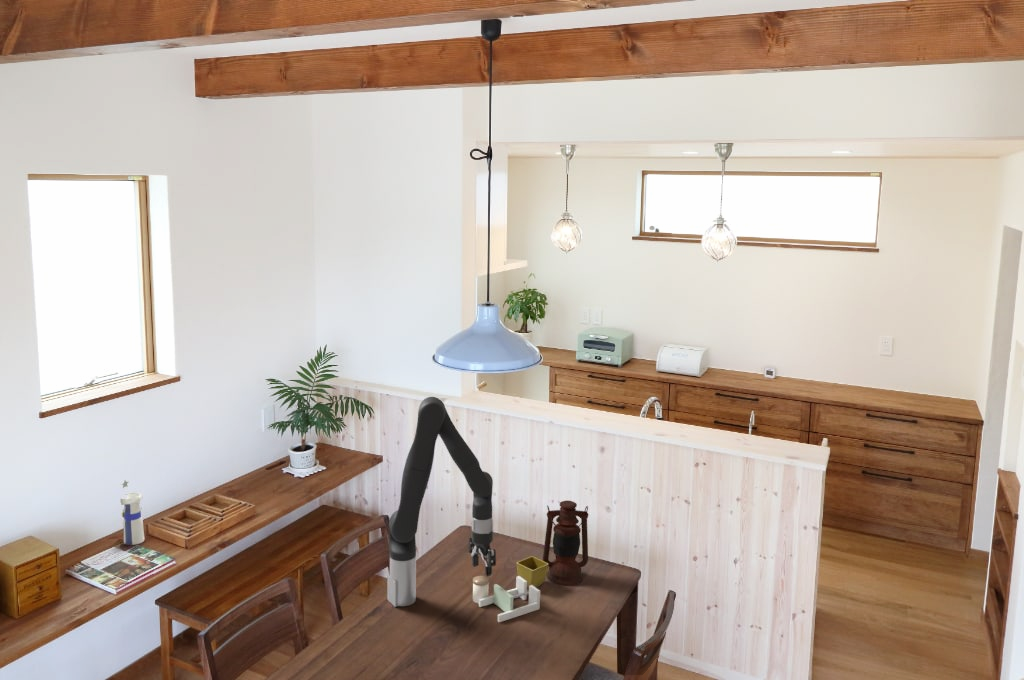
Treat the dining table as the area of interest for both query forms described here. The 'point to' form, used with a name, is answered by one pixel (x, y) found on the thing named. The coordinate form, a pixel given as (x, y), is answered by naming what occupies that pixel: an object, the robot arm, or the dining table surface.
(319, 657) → the dining table surface
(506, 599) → the pusher
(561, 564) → the lantern
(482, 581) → the jar
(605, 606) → the dining table surface
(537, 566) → the flower pot
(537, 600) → the lane
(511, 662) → the dining table surface
